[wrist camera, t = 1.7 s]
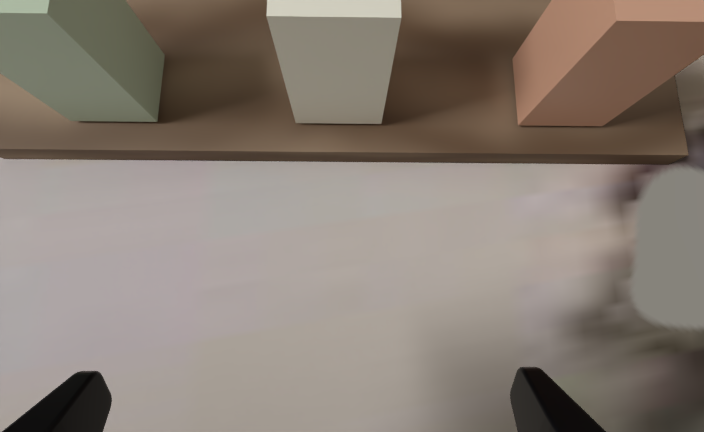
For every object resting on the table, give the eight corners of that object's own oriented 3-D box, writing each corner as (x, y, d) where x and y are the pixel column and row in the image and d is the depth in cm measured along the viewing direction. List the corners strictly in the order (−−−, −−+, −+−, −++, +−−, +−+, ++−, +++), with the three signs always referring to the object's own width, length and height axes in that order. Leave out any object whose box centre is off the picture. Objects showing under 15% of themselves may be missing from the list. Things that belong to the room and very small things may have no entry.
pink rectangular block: (602, 126, 23) (748, 22, 15) (517, 125, 23) (616, 20, 14) (593, 60, 24) (727, -74, 15) (512, 58, 24) (602, -76, 15)
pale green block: (157, 121, 23) (47, 13, 14) (70, 120, 22) (-91, 11, 14) (164, 54, 23) (64, -84, 15) (81, 53, 23) (-65, -87, 15)
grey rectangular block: (381, 123, 23) (401, 17, 14) (295, 123, 23) (266, 16, 14) (380, 57, 24) (399, -79, 15) (298, 56, 23) (271, -82, 15)
